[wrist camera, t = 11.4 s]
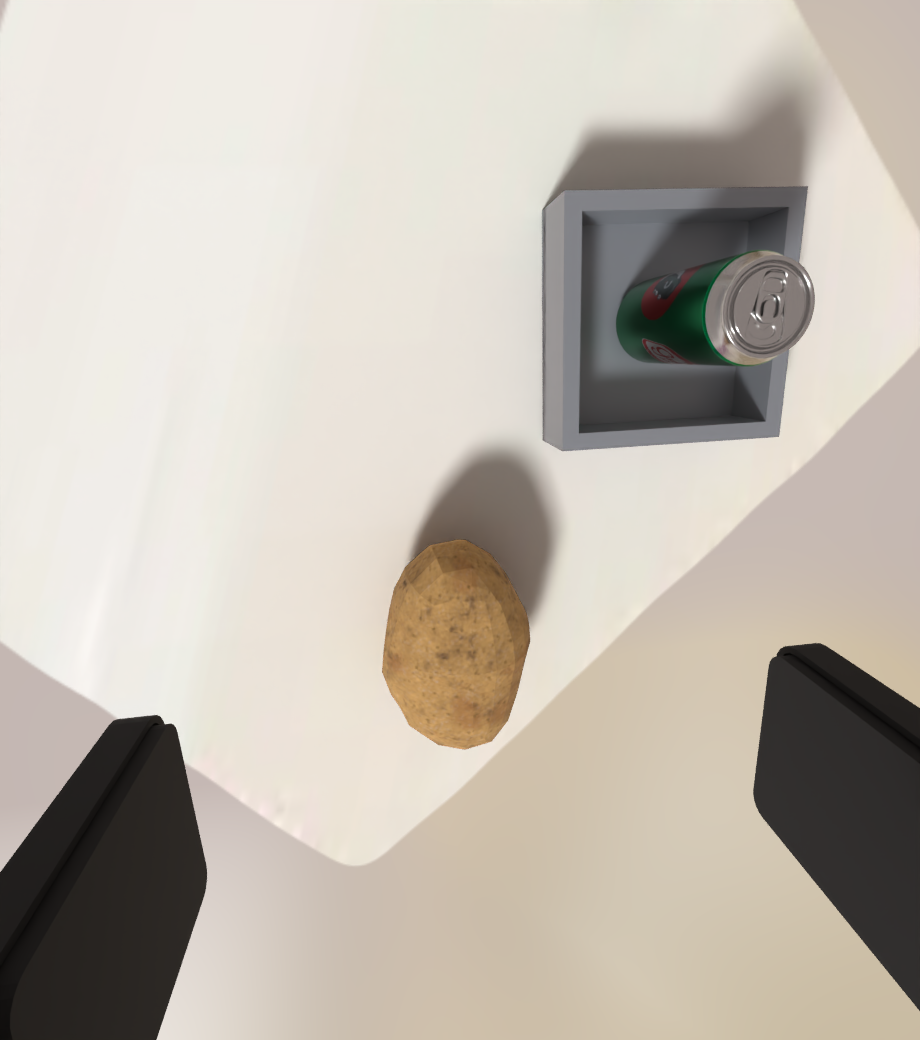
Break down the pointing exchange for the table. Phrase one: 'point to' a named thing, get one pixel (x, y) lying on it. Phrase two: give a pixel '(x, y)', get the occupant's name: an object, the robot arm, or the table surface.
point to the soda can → (718, 312)
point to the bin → (605, 282)
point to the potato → (455, 644)
